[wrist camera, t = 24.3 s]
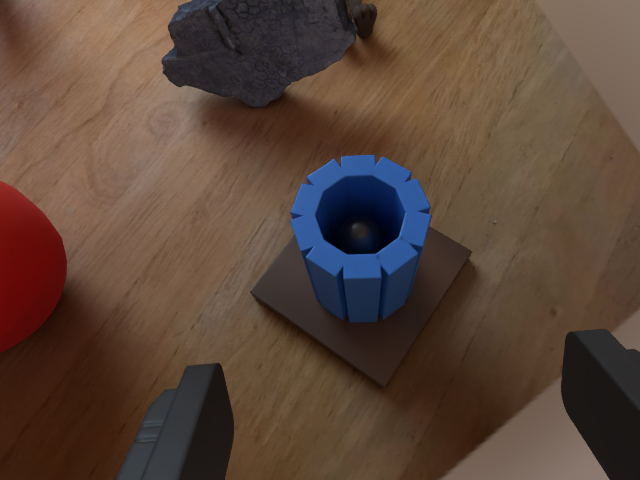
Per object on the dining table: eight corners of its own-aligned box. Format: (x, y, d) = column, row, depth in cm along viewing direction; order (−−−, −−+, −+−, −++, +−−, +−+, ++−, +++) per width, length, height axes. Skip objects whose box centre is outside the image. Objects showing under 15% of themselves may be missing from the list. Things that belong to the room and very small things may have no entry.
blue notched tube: (377, 344, 29) (381, 307, 22) (289, 284, 31) (263, 230, 23) (434, 259, 31) (457, 197, 23) (347, 207, 33) (341, 132, 25)
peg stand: (383, 389, 30) (389, 370, 22) (253, 297, 32) (220, 253, 25) (468, 257, 32) (499, 201, 25) (341, 183, 35) (334, 113, 28)
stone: (185, 138, 38) (126, 38, 28) (173, 78, 40) (115, -33, 31) (362, 89, 38) (360, -25, 29) (339, 32, 40) (332, -91, 31)
